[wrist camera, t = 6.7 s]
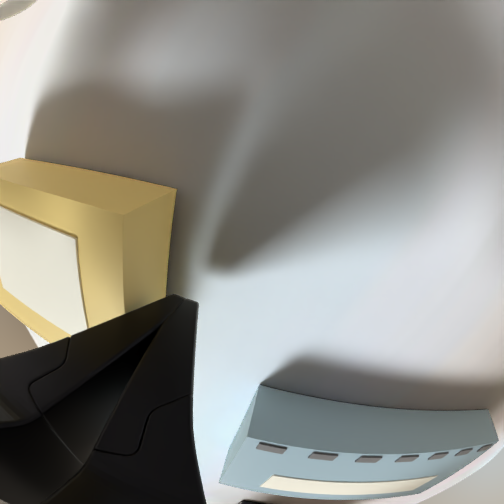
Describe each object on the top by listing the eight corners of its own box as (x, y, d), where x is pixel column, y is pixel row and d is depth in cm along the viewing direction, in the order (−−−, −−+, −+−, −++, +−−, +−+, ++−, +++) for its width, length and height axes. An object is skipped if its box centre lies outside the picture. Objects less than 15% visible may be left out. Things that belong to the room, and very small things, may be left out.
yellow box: (163, 344, 10) (133, 393, 7) (31, 278, 10) (-3, 303, 8) (176, 189, 7) (121, 216, 5) (20, 157, 8) (-27, 172, 5)
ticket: (416, 466, 12) (419, 494, 10) (228, 449, 13) (218, 484, 11) (487, 409, 9) (499, 441, 7) (259, 384, 10) (246, 438, 8)
